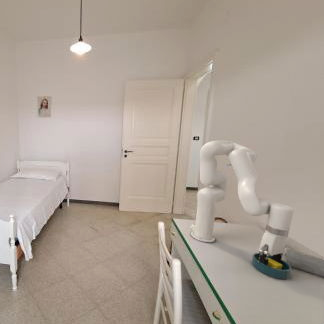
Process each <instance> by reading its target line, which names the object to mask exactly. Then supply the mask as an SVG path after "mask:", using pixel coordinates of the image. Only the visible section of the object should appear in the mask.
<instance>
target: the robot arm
mask: <svg viewBox="0 0 324 324" xmlns="http://www.w3.org/2000/svg"><path fill="white" fill-rule="evenodd" d="M218 156H226V157H228V159H229V162H230V165H231V167H232V169H233V172H234V174H235V177H236V179H237V194H238V195H237V197H238V199H239V202H240V205H241V206H242V208H243V210H244V211H245V213H247V214H248V215H250V216H252V217H261V216H263V215H268V216H267V220H266V225H265V230H264V233H263V235H262V238H261V241H260V244H259V249H258V253H259V254H260V255H259V256H260V258H259V262H261V263H263V264H265V265H267V266H268V261H269V260H268V258H269V256H270V255H272V260H274V261H276V262H278V263H281V260H283V259H282V258H283V256H284V252H285V250H286V249H287V248H286V247H287V245H286V244H287V238H289V232H290V229H291V225H292V220H293V217H294V212H295V210H294V208H293V207H292V206H290V205H287V204H285V203H278V202H276V201H274V200H271V199H268V198H265V197H258V195H257V192H256V185H257V183H258V181H259V178H260V176H259V174H258V173H259V172H258V171H257V169H256V167H255V164H254V163H255V162H256V160H257V158H258V157H257V153H256V152H255V151H254V149H252V148H250V147H247V146H244V145H241V144H239V143H237V142H234V141H231V140H222V139H220V140H219V139H217V140H211V141H208V142H205V144H203V145H202V146H201V148H200V150H199V181H200V183H201V184H202V185H204V186H208V187H203V188H201V189H199V190H198V192H197V194H196V203H197V204H196V213H195V214H196V215H195V220H194V221H195V222H194V224H191V225H190V226H189V228H190V229H191V230H192V231H191V232H190V235H191V237H192V238H193V239H195V240H197V241H200V242H203V243H214V242H215V241H216V238H215V236H213V235H214V234H213V233H214V227H215V219H216V203H220V202H223V201H224V200H225V199H226V198H227V185H228V184H227V174H226V173H225V172H224V171H223V170H222V169H219V168H218V161H217V158H216V157H218ZM265 254H267V256H266V255H265Z"/></svg>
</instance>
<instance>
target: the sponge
mask: <svg viewBox="0 0 324 324" xmlns="http://www.w3.org/2000/svg"><path fill="white" fill-rule="evenodd" d="M259 258H260V257H259ZM268 260H269V261H268V266H269V267H272V268H275V269H280V270H281V269H282V264H280V263H278V262H276V261H274V260H272V259H270V258H268Z"/></svg>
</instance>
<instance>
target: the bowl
mask: <svg viewBox="0 0 324 324" xmlns="http://www.w3.org/2000/svg"><path fill="white" fill-rule="evenodd" d="M264 254H265V255H266V256H267V254H266V253H264ZM259 255H260V254H259V252H255V253H253V254H252V258H251V265H252V266H253V267H254V268H255V269H256V270H257V271H260V272H261V273H263V274H264V275H267V276H269V277H272V278H276V279H283V280H284V279H285V280H286V279H289V278H290V277H291V274H292V268H293V267H291V266H290V265H289V264H288V262H287V261H285V260H283V259H281V263H280V264H282V269H281V270H280V269H275V268H272V267H269V266H267V265H265V264H263V263H261V262H259V257H260V256H259ZM272 256H273V255H270V256H269V258H270V259H272Z"/></svg>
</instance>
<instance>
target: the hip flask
mask: <svg viewBox="0 0 324 324" xmlns="http://www.w3.org/2000/svg"><path fill="white" fill-rule="evenodd" d="M285 255H286V258H287V263H288V264H289V265H290V266H291V268H294V269H297V270H300V271H303V272H307V273H310V274H313V275H316V276H320V277H322V278H324V260H323V259H324V258H321V257H317V256H314V255H311V254H307V253H303V252H301V251H296V250H293V249H290V248H286V249H285Z"/></svg>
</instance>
